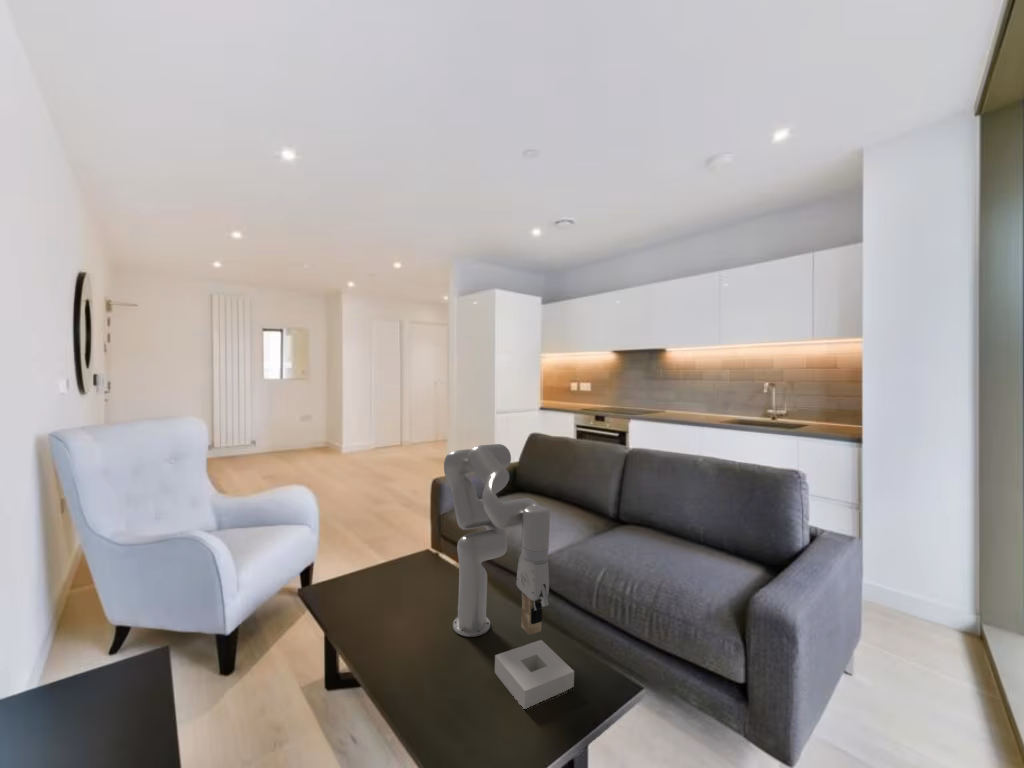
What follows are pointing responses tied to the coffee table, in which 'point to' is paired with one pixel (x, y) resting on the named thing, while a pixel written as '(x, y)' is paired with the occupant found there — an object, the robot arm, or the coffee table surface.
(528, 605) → the maple peg
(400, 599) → the coffee table surface
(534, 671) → the socket block
